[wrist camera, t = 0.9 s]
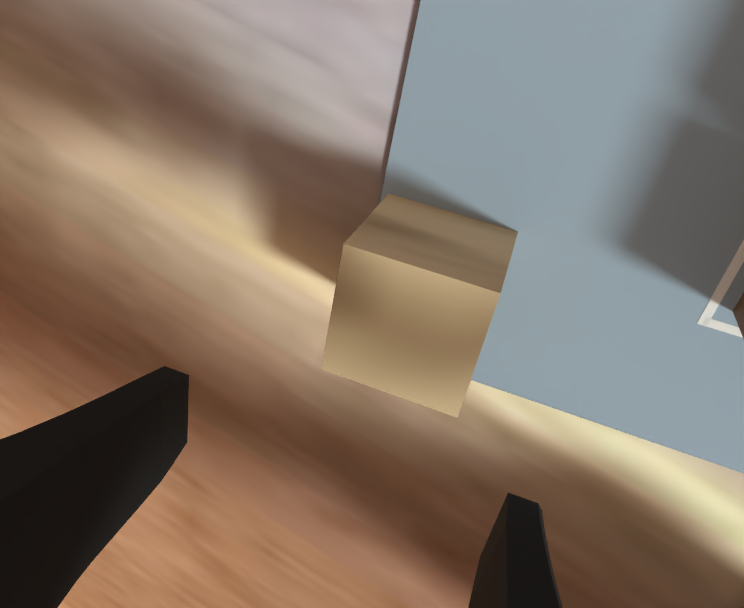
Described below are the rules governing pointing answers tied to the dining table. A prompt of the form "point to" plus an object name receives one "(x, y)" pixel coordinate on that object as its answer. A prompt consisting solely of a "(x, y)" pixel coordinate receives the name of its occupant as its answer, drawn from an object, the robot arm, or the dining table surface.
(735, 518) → the dining table surface
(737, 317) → the walnut block
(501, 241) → the oak block
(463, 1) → the blueprint mat
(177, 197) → the dining table surface
